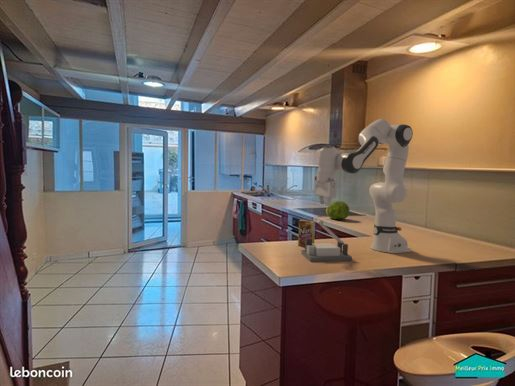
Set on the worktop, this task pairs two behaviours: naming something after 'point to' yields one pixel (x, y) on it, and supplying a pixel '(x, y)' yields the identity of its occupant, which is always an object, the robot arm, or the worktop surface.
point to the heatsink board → (327, 258)
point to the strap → (329, 231)
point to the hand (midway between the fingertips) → (324, 204)
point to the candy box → (306, 231)
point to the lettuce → (338, 210)
